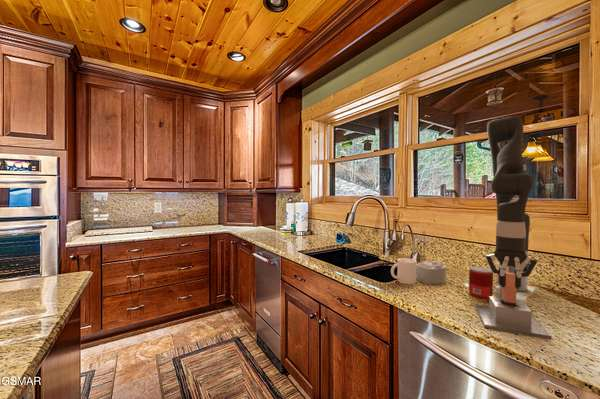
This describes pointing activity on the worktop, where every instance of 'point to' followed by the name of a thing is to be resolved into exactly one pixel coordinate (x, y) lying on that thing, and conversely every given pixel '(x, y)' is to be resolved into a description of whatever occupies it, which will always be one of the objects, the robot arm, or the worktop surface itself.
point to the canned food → (480, 282)
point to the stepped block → (509, 288)
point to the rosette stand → (510, 315)
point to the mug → (405, 271)
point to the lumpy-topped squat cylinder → (431, 272)
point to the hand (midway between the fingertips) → (509, 287)
